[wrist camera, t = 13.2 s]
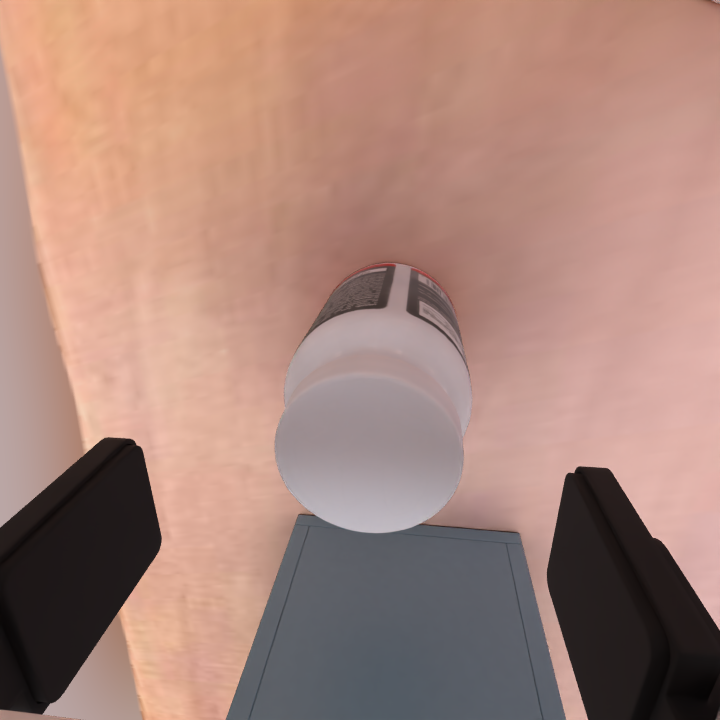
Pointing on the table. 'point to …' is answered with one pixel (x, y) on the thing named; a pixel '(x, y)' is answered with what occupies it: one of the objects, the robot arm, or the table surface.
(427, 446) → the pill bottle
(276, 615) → the chest
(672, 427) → the table surface
